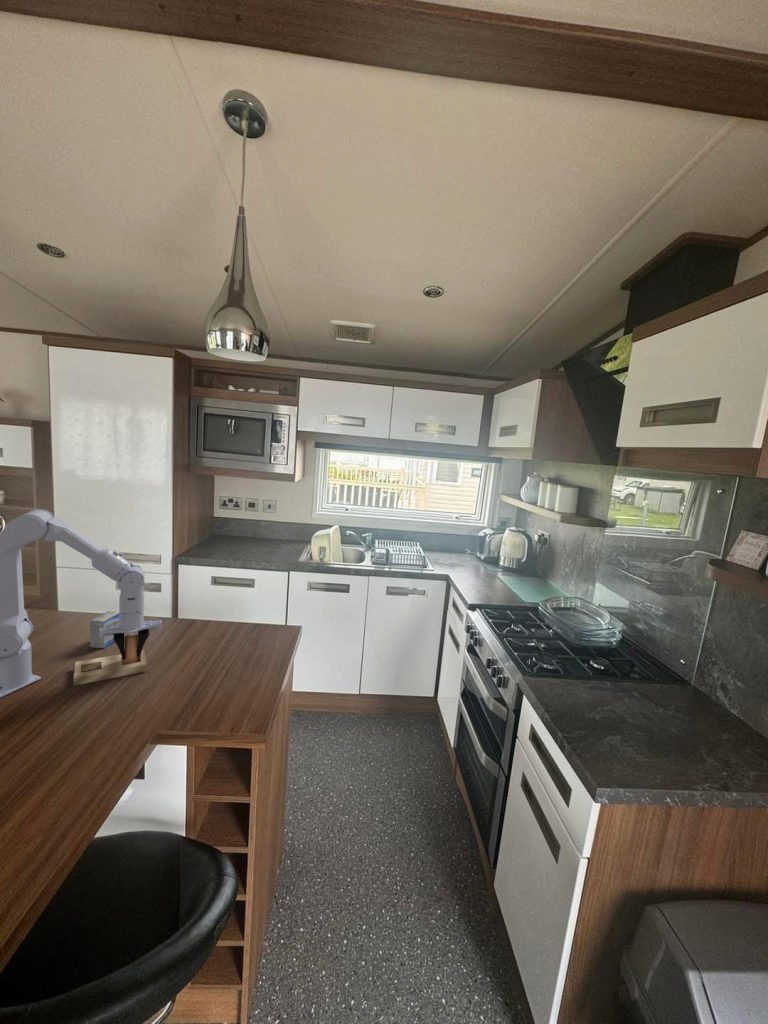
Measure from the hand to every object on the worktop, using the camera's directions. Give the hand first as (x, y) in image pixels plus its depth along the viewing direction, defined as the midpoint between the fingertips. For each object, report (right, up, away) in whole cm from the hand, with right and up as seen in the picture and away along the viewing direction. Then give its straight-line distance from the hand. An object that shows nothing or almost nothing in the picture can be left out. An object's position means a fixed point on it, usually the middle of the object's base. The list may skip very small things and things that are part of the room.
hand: (131, 656), depth 111 cm
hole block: (-4, -3, -2) cm, 5 cm away
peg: (0, -3, 0) cm, 3 cm away
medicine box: (-16, 0, +12) cm, 20 cm away
